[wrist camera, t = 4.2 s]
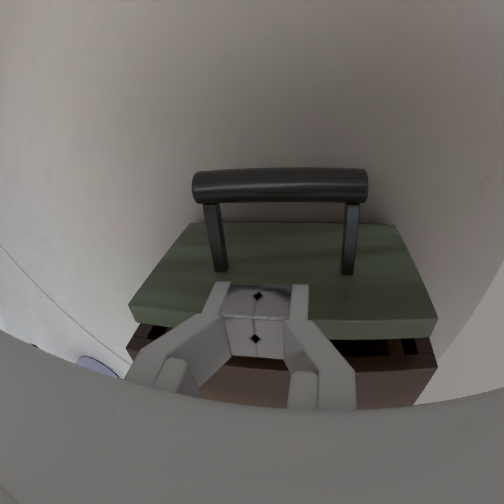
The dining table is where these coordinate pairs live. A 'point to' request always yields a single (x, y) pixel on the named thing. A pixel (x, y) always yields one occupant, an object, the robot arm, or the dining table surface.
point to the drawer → (295, 260)
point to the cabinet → (278, 376)
